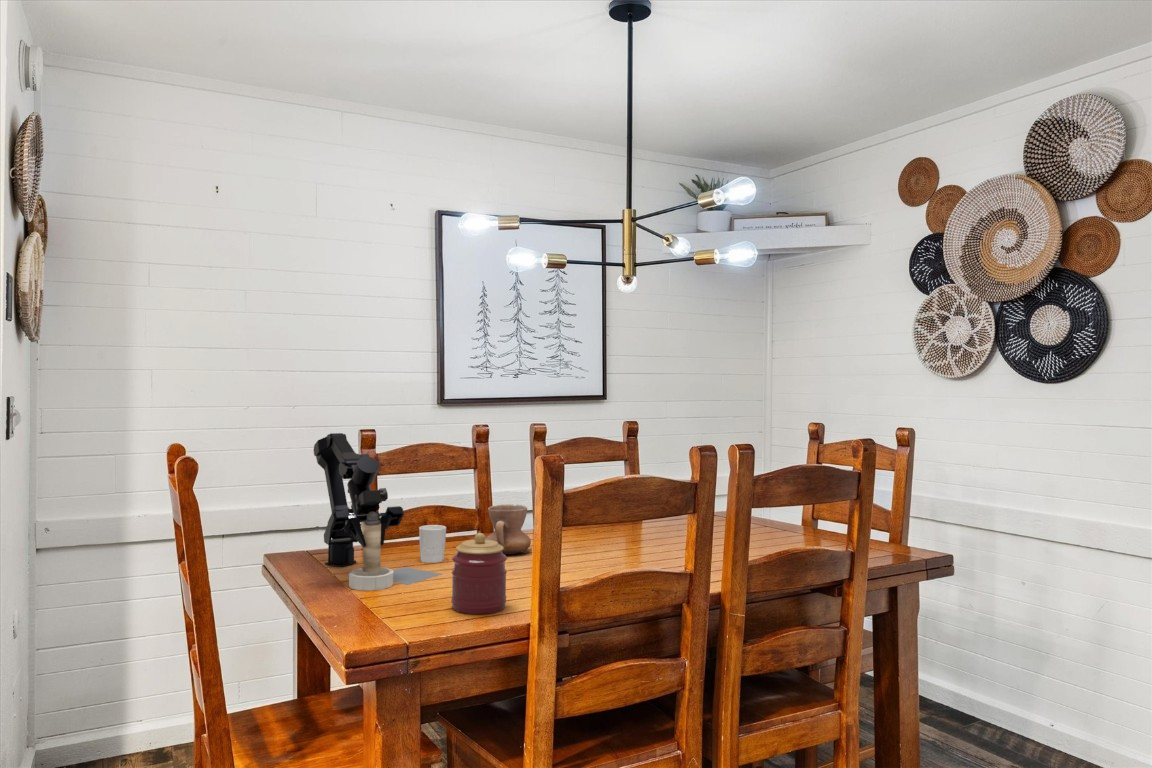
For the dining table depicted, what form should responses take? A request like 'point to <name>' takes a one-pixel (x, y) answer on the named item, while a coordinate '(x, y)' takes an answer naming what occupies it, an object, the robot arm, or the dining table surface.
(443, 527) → the white cup
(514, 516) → the ceramic jug
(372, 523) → the pepper mill
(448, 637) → the dining table surface
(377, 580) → the bowl
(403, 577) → the felt mat
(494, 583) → the canister
